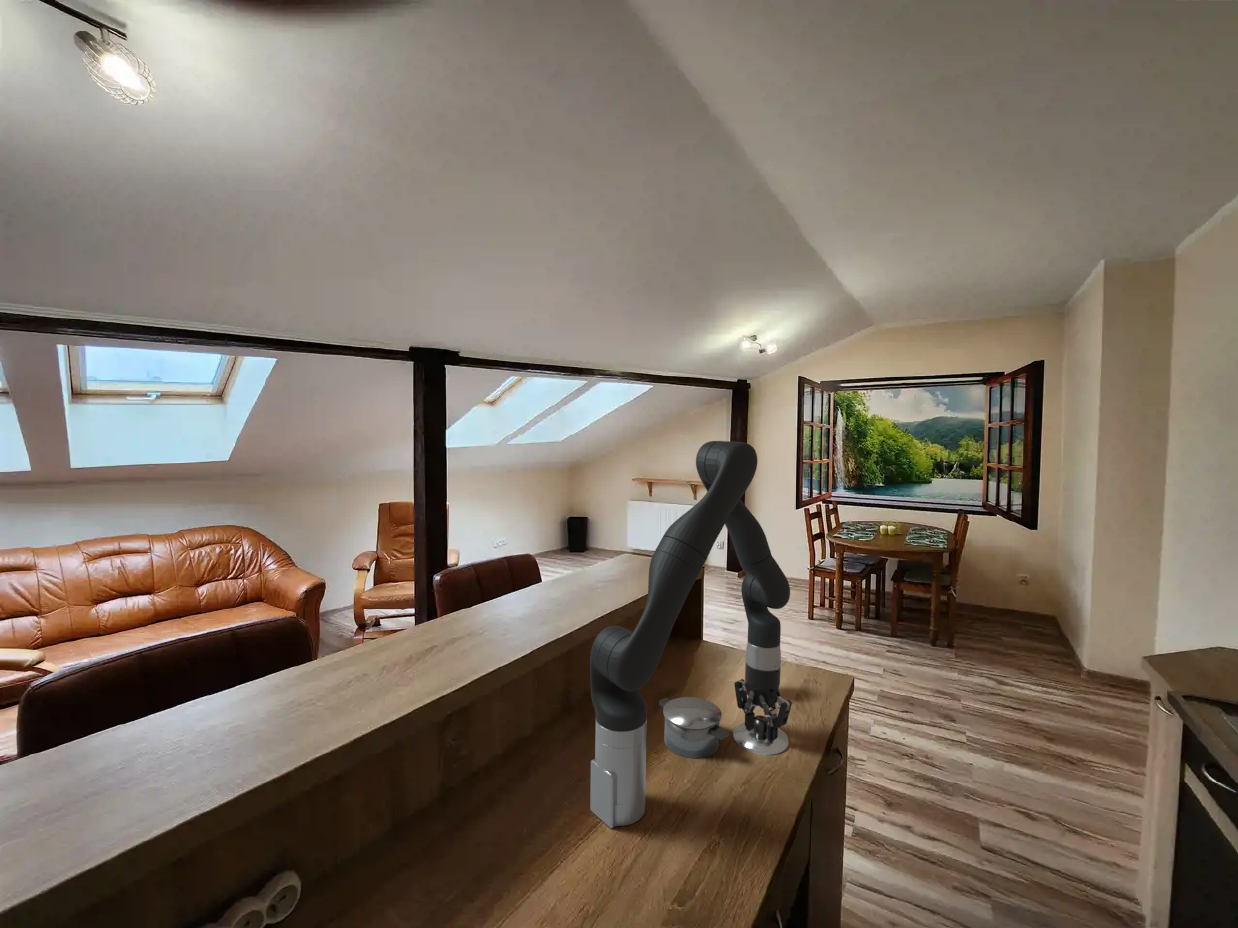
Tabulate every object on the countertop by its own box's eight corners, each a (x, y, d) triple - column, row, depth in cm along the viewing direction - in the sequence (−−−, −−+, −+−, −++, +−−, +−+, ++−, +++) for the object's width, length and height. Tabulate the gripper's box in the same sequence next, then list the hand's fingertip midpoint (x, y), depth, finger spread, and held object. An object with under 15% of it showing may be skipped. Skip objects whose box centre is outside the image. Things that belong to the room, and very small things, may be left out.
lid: (767, 763, 115) (768, 740, 115) (722, 738, 125) (722, 716, 124) (799, 742, 123) (799, 720, 123) (754, 719, 132) (754, 699, 132)
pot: (704, 773, 111) (704, 740, 111) (642, 733, 125) (642, 704, 125) (743, 749, 119) (744, 718, 119) (681, 714, 133) (681, 687, 133)
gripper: (726, 655, 126) (724, 727, 127) (781, 678, 115) (778, 756, 116) (746, 647, 130) (744, 716, 132) (801, 668, 120) (798, 743, 121)
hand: (760, 734), depth 124 cm, fingers open, 5 cm apart
